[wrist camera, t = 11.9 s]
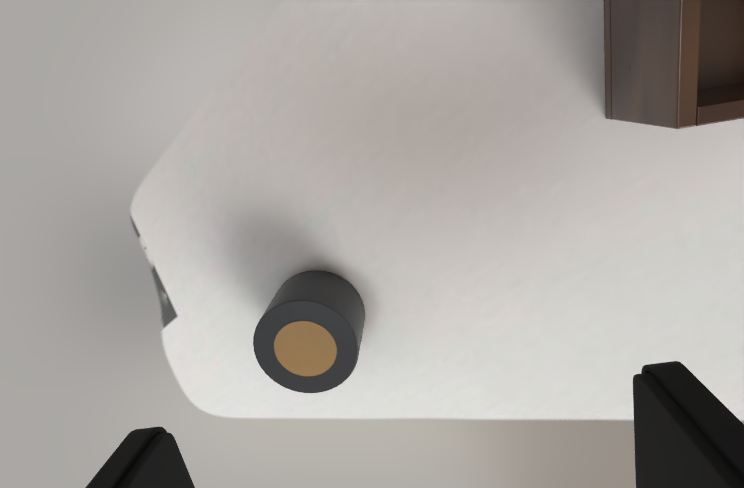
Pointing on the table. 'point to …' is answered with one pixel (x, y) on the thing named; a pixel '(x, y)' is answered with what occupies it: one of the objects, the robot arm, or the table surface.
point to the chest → (674, 61)
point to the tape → (311, 332)
